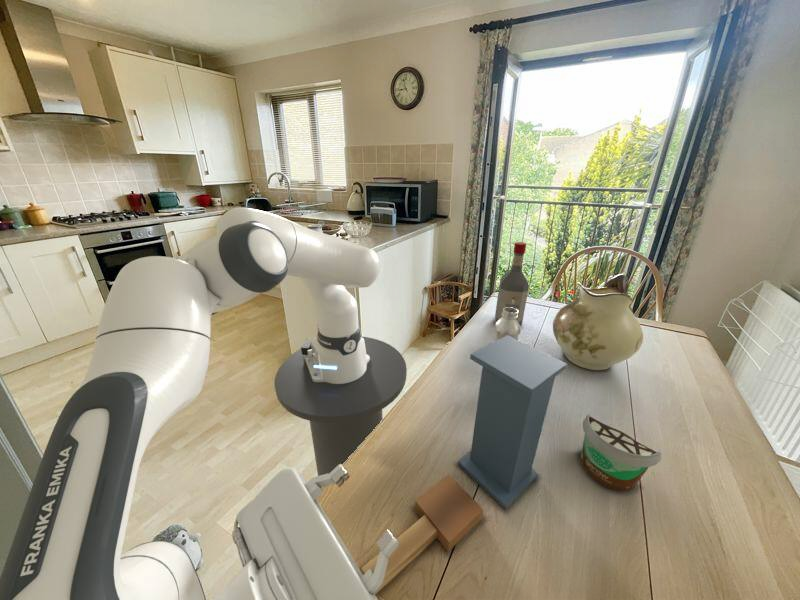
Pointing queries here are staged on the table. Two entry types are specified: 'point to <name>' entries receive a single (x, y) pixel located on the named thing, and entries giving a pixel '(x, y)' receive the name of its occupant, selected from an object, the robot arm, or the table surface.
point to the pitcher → (599, 326)
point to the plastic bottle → (507, 324)
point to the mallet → (433, 525)
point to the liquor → (513, 286)
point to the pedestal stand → (509, 416)
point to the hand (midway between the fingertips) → (367, 500)
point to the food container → (614, 456)
